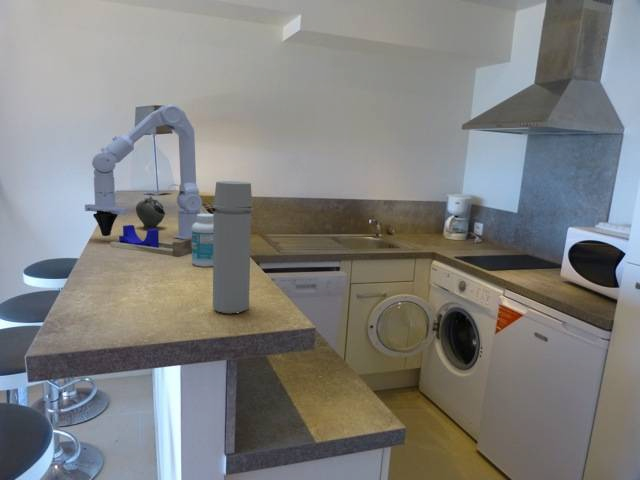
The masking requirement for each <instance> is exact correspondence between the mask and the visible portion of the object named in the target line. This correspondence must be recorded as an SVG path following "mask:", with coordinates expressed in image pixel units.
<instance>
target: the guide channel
mask: <svg viewBox="0 0 640 480" xmlns="http://www.w3.org/2000/svg"><path fill="white" fill-rule="evenodd" d="M140 239H141V240H142V241H144V240H145V238H144V239H142V238H140ZM109 247H110V248H111V247H112V248H117V249H118V248H120V249H127V250H132V251H140V252H147V253H154V254H160V255H167V256H172V257H177V258H180V257H182V256H185V255H189V254H192V237H191V238H187V239H179V240H176V241H172V242H165V241H159V248H155V247H148V246H141V245H134V244H127V243H120V242H119V241H111V242H109Z"/></svg>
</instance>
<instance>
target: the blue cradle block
mask: <svg viewBox="0 0 640 480" xmlns="http://www.w3.org/2000/svg"><path fill="white" fill-rule="evenodd" d="M122 230H123V231H122V234H123V235H118V242H120V243H127V244H134V245H141V246H148V247H155V248H160V247H159V242H160V241H159V240H160V239H159V236H160V235H159V230H158V229H151V230H146V235H145V238H144V241H142V240H141V239H142V238H140V237H139V236H138V234H137V232H136V229H135V225H134V224H126V225H122Z"/></svg>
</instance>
